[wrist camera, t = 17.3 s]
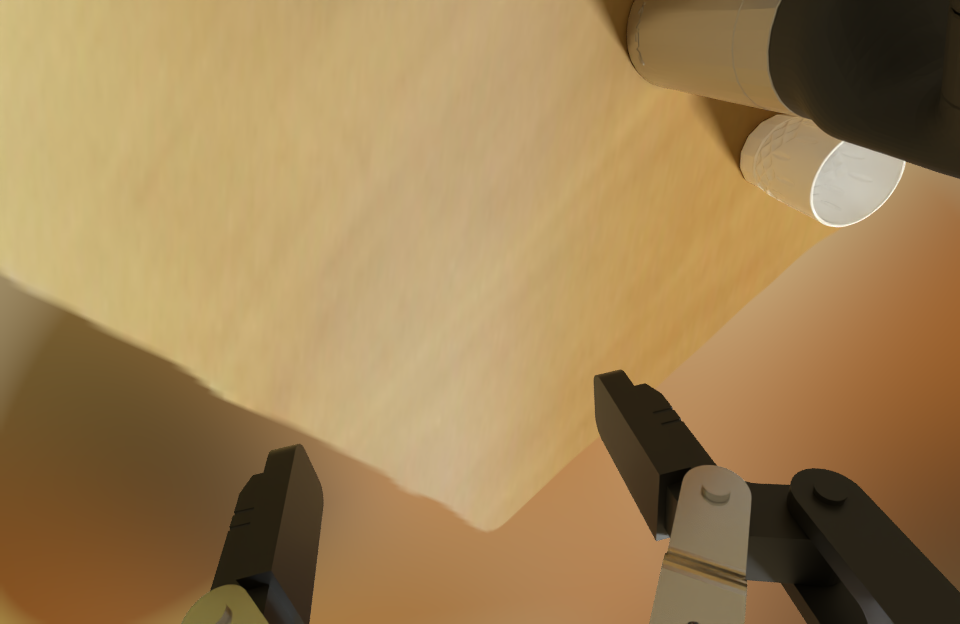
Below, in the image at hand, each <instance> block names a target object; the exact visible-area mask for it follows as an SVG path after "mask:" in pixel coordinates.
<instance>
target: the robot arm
mask: <svg viewBox="0 0 960 624" xmlns="http://www.w3.org/2000/svg"><path fill="white" fill-rule="evenodd" d="M627 46H628V51H629V55H630V58H631V61H632V63H633V65H634V67H635V68H636V70H637V72H638V73H639V74H640V75H641V76H642V77H643V78H644V79H645V80H647V81H649V82H650V83H652V84H654V85H657V86H660V87H664V88H669V89H673V90H678V91H682V92H686V93H690V94H695V95H700V96H704V97H709V98H714V99H718V100H723V101H727V102H732V103H737V104H741V105H746V106H750V107H755V108H760V109H764V110H769V111H775V112H779V113H784V114H788V115H793V116H798V117H802V118H807V119H810V120H812V121H813V122H814V123H815V124H816V125H817V126H818V127H819V128H820V129H821V130H822V131H824V132H825V133H826V134H828V135H830V136H831V137H834V138H836V139H838V140H841V141H845V142H848V143H851V144H854V145H857V146H861V147H864V148H867V149H870V150H873V151H876V152H879V153H882V154H885V155H888V156H891V157H894V158H897V159H900V160H903V161H906V162H909V163H912V164H915V165H918V166H921V167H924V168H927V169H930V170H933V171H936V172H939V173H942V174H946V175H949V176H952V177H955V178H959V179H960V0H635V1H634V3H633V5H632V7H631V11H630V15H629V19H628V24H627ZM594 399H595V418H596V424H597V428H598V431H599V434H600V436H601V439H602V441H603V442H604V444H605V446H606V448H607V450H608V452H609V454H610V455H611V457H612V459H613V461H614V463H615V465H616V467H617V469H618V471H619V472H620V474H621V476H622V478H623V480H624V481H625V483H626V485H627V487H628V489H629V491H630V493H631V495H632V497H633V498H634V501H635V502H636V504H637V506H638V508H639V510H640V512H641V514H642V515H643V517H644V519H645V521H646V523H647V525H648V526H649V529H650V530H651V532H652V534H653V536H654V538H655V540H656V541H658V540H662V539H666V538H670V542H669V547H668V551H667V553H665V556H664V559H663V563H662V568H661V572H660V577H659V581H658V586H657V591H656V595H655V600H654V605H653V609H652V614H651V619H650V623H649V624H744V623H745V610H746V596H747V580H753V581H767V582H779V583H781V584H782V586H783V587H784V589H785V590H786V592H787V593H788V595H789V596H790V598H791V600H792V601H793V602H794V604H795V606H796V607H797V609H798V610H799V612H800V613H801V615H802V617H803V618H804V620H805V621H806V623H807V624H960V592H959V591H958V590H957V589H956V588H955V587H954V586H953V585H952V584H951V583H950V582H949V581H948V579H946V578H945V576H944V575H943V574H942V573H941V572H940V571H939V570H938V569H937V568H936V567H935V566H934V565H933V564H932V563H931V562H930V561H929V559H928V558H927V557H925V555H924V554H923V553H922V552H921V551H920V550H919V549H918V548H917V547H916V546H915V545H914V544H913V543H912V542H911V540H910V539H909V538H907V536H906V535H905V534H904V533H903V532H902V531H901V530H900V529H899V528H898V527H897V526H896V525H895V524H894V523H893V522H892V520H890V518H889V517H888V516H887V515H886V514H885V513H884V512H883V511H882V510H881V509H880V508H879V507H878V506H877V505H876V504H875V503H874V501H873V500H871V498H870V497H869V496H868V495H867V494H866V493H865V492H864V491H863V490H862V489H861V488H860V487H859V486H858V485H857V484H856V483H854V482H853V481H852V480H850V479H848V478H847V477H845V476H843V475H841V474H839V473H836V472H833V471H829V470H825V469H815V468H812V469H806V470H802V471H800V472H798V473H797V474H796V475H794V477H793V478H792V481H791V484H790V485H778V484H756V483H750V482H745V481H744V480H743V479H742V478H741V477H740V476H738V475H737V474H735V473H734V472H732V471H730V470H728V469H726V468H723V467H719V466H717V465H716V464H715V463H714V462H713V460H712V459H711V458H710V456H709V455H708V454H707V452H706V451H705V450H704V448H703V447H702V446H701V444H700V443H699V442H698V441H697V440H696V438H695V437H694V435H693V434H692V433H691V431H690V430H689V429H688V427H687V426H686V425H685V423H684V422H682V421H681V418H680V417H679V416H678V414H677V413H676V412H675V410H672V406H671V405H670V404H669V403H668V401H667V400H666V399H665V397H664V396H663V395H662V394H661V393H660V392H658V391H656V390H655V389H654V388H652V387H650V386H649V385H647V384H646V383H645V384H640V385H636V386H634V385H633V383H632V382H631V381H630V379H629V378H628V376H627V375H626V373H625V372H624V371H623V370H617V371H612V372H608V373H604V374H599V375H596V376H595V377H594ZM322 512H323V492H322V487H321V484H320V481H319V479H318V477H317V474H316V472H315V470H314V468H313V466H312V464H311V462H310V460H309V457H308V455H307V453H306V451H305V449H304V447H303V446H302V445H301V444H297V445H292V446H288V447H284V448H279V449H275V450H271V451H270V452H269V455H268V458H267V461H266V466H265V469H264V473H260V474H256V475H253V476H252V477H251V478H250V480H249V481H248V483H247V484H246V485H245V487H244V488H243V490H242V491H241V492H240V494H239V498H238V501H237V504H236V507H235V511H234V513H235V515H234V516H233V517H232V521H231V524H230V531H228V534H227V537H226V541H225V544H224V547H223V551H222V554H221V557H220V561H219V564H218V567H217V571H216V574H215V577H214V580H213V584H212V587H211V590H210V592H208V593H207V594H205V595H204V596H203V597H201V598H200V599H199V600H198V601H197V602H196V603H195V604H194V605H193V606H192V607H191V608H190V610H189V611H188V613H187V614H186V616H185V617H184V619H183V621H182V624H309V622H310V613H311V605H312V596H313V588H314V580H315V571H316V563H317V555H318V546H319V538H320V529H321V521H322Z"/></svg>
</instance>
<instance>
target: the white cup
mask: <svg viewBox="0 0 960 624" xmlns="http://www.w3.org/2000/svg"><path fill="white" fill-rule="evenodd" d="M905 163H906V161H903V160H900V159H897V158H894V157H891V156H888V155H885V154H882V153H879V152H876V151H873V150H870V149H867V148H864V147H861V146H857V145H854V144H851V143H848V142H845V141H841V140H838V139H836V138H834V137H831V136H830V135H828V134H826V133H825V132H824V131H822V130H821V129H820V128H819V127H818V126H817V125H816V124H815V123H814V122H813V121H812V120H810V119H807V118H802V117H798V116H793V115H788V114H778V115H775V116H773V117H771V118H769V119H767V120H765V121H763V122H761V123H760V124H759V125H758V126H757V127H756V129H755V130H754V131H753V132H752V133H751V134H750V135H749V136H748V138H747V140H746V142H745V144H744V147H743V149H742V151H741V158H740V169H741V172H742V174H743V176H744V178H745V180H746V181H747V182H749V183H751V184H753V185H754V186H756V187H758V188H760V189H762V190H763V191H765V192H766V193H767V194H768V195H770V196H772V197H774V198H775V199H777V200H779V201H781V202H783V203H784V204H786V205H788V206H789V207H791V208H794V209H796V210H797V211H799V212H801V213H803V214H805V215H807V216H809V217H811V218H813V219H815V220H817V221H819V222H821V223H822V224H824V225H827V226H831V227H844V226H848V225H852V224H854V223H857V222H859V221H861V220H863V219H865V218H866V217H868V216H869V215H871V214H872V213H873V212H875V211H876V210H877V209H878V208H879V207H881V205H882V204H883V203H884V202H885V201H886V200H887V199H888V198H889V197H890V195H891V194H892V193H893V191H894V190H895V188H896V186H897V185H898V183H899V181H900V179H901V176H902V174H903V171H904V168H905Z"/></svg>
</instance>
